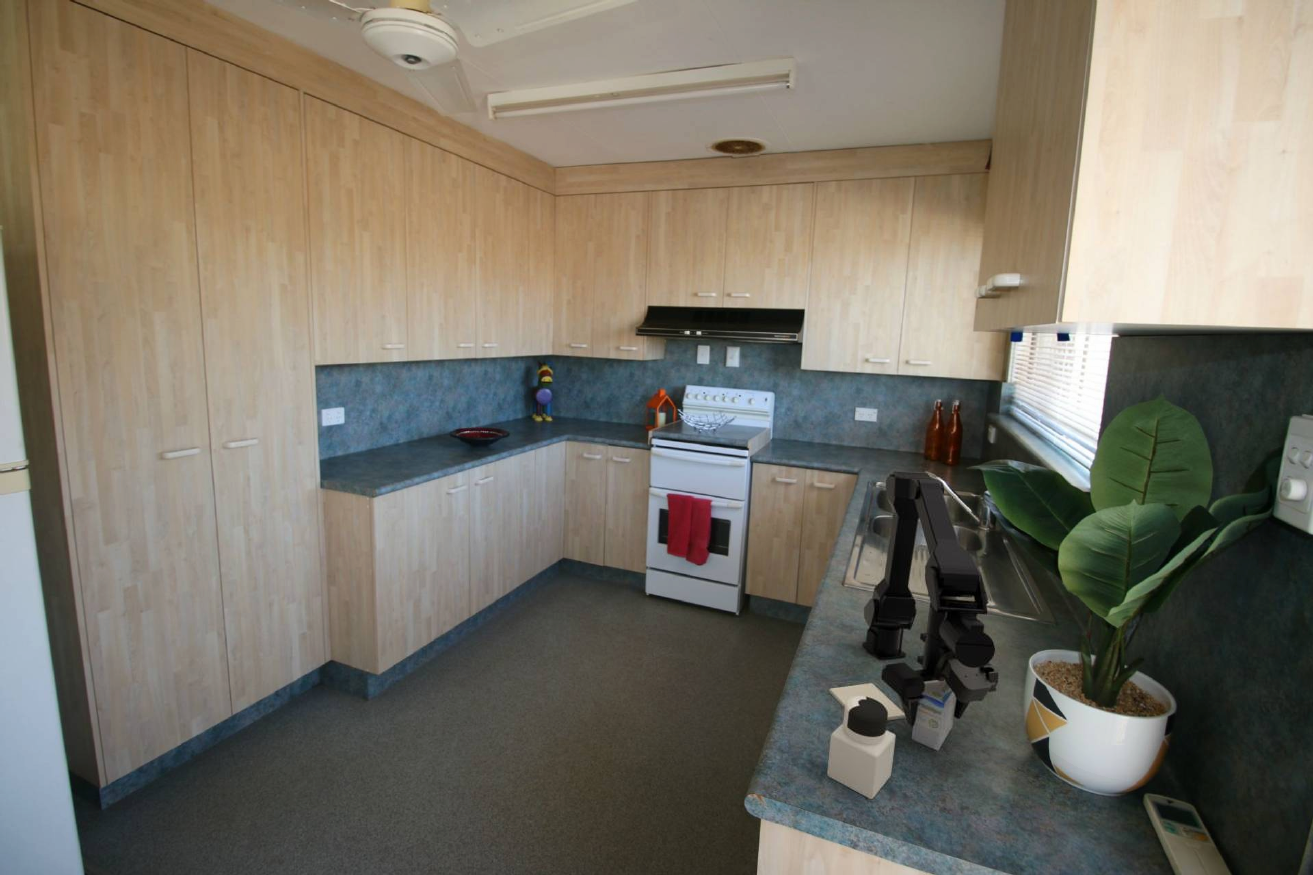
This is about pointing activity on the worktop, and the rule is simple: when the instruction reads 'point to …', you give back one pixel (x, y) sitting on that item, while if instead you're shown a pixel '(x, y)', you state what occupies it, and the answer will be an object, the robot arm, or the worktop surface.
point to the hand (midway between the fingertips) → (933, 721)
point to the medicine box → (934, 715)
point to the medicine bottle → (862, 747)
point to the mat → (868, 691)
